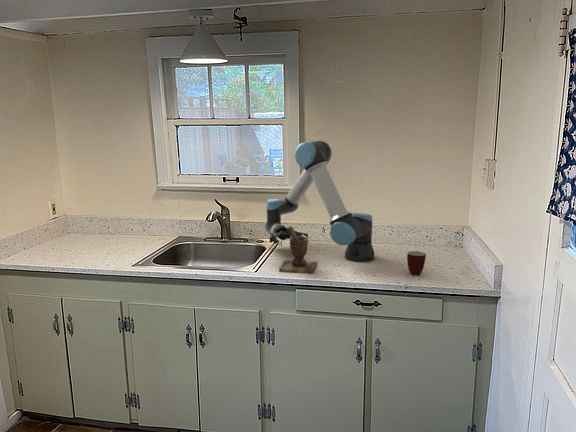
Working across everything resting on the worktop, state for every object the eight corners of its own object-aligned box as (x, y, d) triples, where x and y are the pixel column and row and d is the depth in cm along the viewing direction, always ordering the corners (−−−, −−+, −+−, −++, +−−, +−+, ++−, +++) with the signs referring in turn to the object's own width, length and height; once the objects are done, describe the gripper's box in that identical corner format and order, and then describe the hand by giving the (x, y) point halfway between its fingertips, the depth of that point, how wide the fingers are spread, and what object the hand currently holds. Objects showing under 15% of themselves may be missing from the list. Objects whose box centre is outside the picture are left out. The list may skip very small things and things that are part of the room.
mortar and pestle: (302, 270, 222) (302, 228, 218) (285, 268, 225) (284, 227, 221) (310, 262, 233) (310, 222, 229) (293, 261, 236) (292, 221, 232)
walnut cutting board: (316, 264, 235) (317, 262, 234) (313, 273, 221) (313, 271, 221) (285, 262, 238) (284, 260, 237) (279, 271, 224) (279, 269, 224)
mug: (404, 269, 226) (405, 249, 224) (421, 270, 226) (422, 249, 224) (407, 277, 216) (409, 255, 214) (426, 277, 216) (427, 256, 214)
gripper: (302, 236, 255) (318, 247, 236) (257, 241, 247) (270, 252, 227) (302, 223, 254) (318, 232, 234) (256, 227, 245) (270, 236, 226)
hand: (294, 242), depth 231 cm, fingers open, 13 cm apart
